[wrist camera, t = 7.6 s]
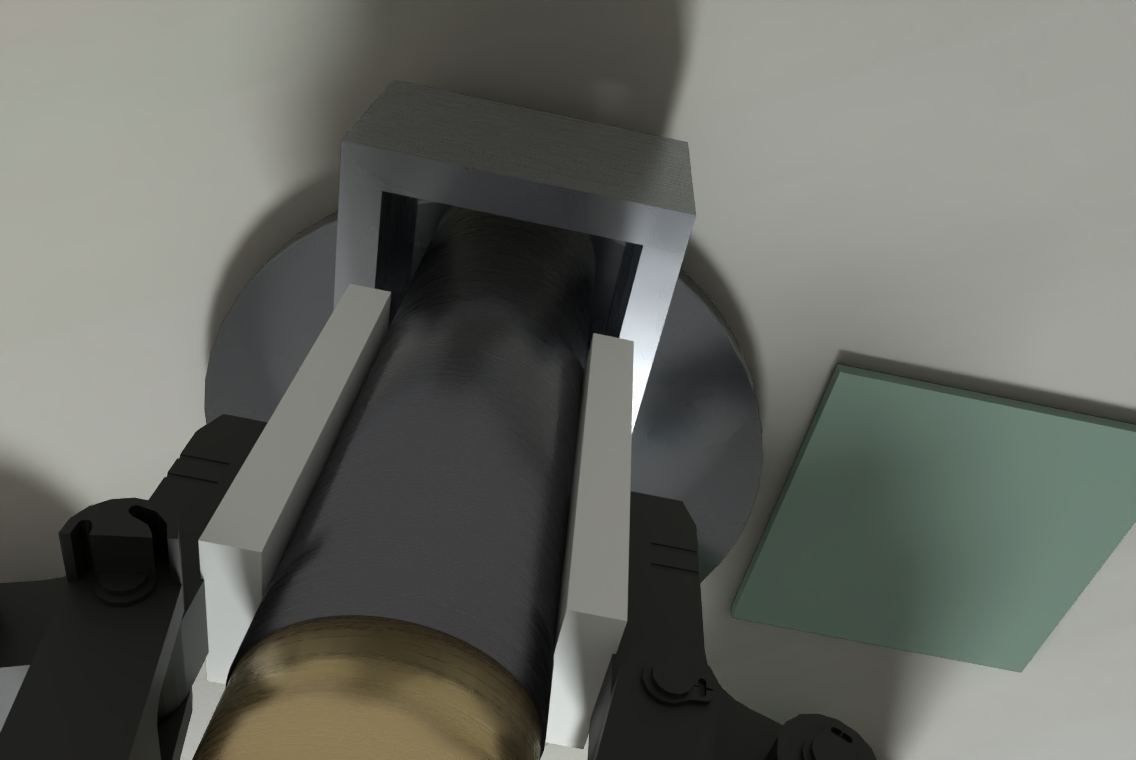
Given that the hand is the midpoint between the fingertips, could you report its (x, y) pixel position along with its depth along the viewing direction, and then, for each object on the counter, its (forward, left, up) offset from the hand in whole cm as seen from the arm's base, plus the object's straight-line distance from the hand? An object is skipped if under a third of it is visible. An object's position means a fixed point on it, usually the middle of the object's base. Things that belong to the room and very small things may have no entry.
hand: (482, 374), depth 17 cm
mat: (-14, +7, -7) cm, 17 cm away
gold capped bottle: (0, 0, -5) cm, 5 cm away
